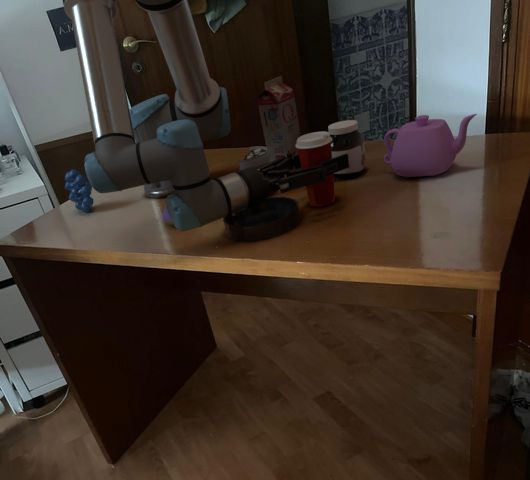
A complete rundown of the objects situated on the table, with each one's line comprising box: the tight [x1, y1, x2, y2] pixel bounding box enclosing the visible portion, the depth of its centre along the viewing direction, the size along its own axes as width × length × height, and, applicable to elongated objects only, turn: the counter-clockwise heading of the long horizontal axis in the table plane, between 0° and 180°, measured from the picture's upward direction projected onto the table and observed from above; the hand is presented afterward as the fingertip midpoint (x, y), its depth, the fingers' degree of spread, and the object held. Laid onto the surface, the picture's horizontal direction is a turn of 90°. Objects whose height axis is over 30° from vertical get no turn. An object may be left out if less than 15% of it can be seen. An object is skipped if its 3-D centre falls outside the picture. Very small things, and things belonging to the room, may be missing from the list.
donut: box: [161, 206, 175, 227], centre depth 124 cm, size 10×9×5 cm
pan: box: [222, 196, 301, 242], centre depth 112 cm, size 16×16×3 cm
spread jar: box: [327, 119, 367, 180], centre depth 127 cm, size 12×11×12 cm
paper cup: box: [295, 131, 336, 208], centre depth 113 cm, size 8×8×14 cm
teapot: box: [383, 113, 478, 178], centre depth 116 cm, size 20×13×12 cm, turn 64°
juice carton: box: [256, 75, 302, 171], centre depth 138 cm, size 7×7×22 cm
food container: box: [238, 145, 274, 198], centre depth 127 cm, size 12×6×10 cm, turn 168°
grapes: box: [64, 168, 94, 213], centre depth 145 cm, size 12×7×12 cm, turn 46°
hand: (333, 156), depth 113 cm, fingers open, 10 cm apart
